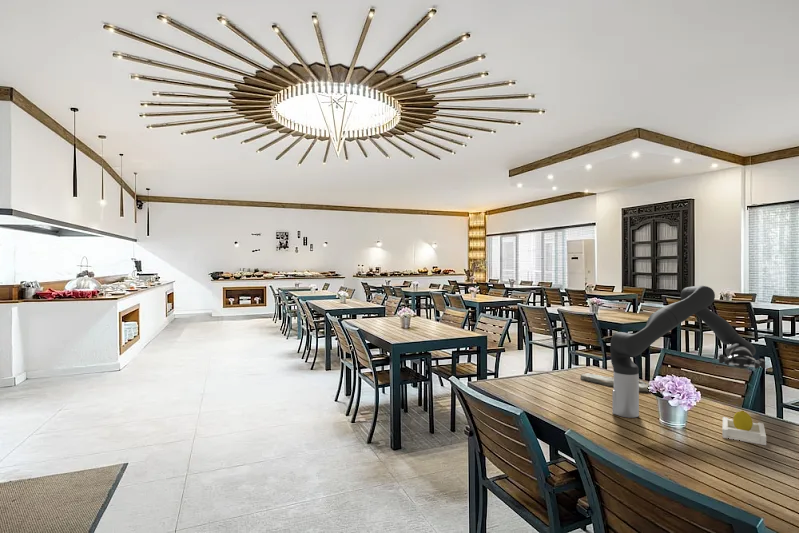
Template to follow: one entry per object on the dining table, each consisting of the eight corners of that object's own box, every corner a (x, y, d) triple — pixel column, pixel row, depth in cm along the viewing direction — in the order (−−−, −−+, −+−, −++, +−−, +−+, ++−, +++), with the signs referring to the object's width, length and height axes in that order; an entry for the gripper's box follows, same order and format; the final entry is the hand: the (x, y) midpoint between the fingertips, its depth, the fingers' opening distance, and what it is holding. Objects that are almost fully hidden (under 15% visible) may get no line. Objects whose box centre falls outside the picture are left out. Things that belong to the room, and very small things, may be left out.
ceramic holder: (722, 437, 158) (722, 429, 158) (722, 424, 170) (722, 416, 170) (766, 445, 151) (766, 436, 151) (763, 431, 163) (763, 423, 163)
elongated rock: (586, 379, 243) (577, 383, 236) (585, 369, 243) (576, 373, 236) (655, 389, 216) (647, 394, 209) (654, 378, 216) (646, 383, 209)
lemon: (756, 436, 158) (756, 413, 158) (738, 435, 159) (738, 412, 159) (747, 430, 163) (746, 408, 163) (729, 429, 164) (729, 407, 164)
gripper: (719, 346, 187) (719, 352, 174) (763, 350, 178) (766, 356, 165) (719, 364, 187) (718, 371, 174) (763, 369, 178) (766, 377, 165)
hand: (741, 364), depth 169 cm, fingers open, 8 cm apart
